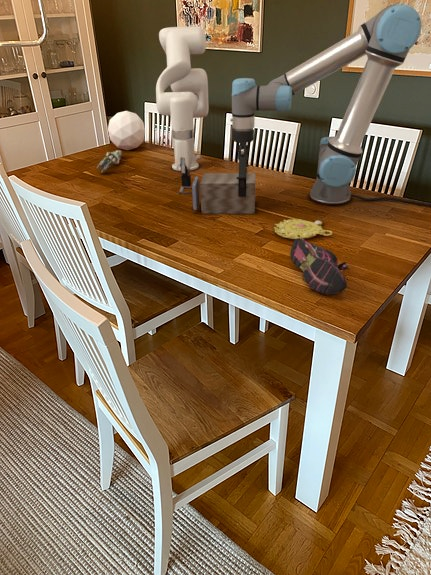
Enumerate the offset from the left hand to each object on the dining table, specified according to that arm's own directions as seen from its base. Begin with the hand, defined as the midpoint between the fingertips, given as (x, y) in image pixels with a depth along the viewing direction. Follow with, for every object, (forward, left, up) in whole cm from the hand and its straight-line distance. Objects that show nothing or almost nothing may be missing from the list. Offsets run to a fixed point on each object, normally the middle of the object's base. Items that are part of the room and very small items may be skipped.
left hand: (186, 185), depth 162 cm
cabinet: (-8, +13, -9) cm, 18 cm away
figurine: (-21, -65, -9) cm, 69 cm away
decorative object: (-4, +46, -9) cm, 47 cm away
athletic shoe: (+19, +63, -9) cm, 67 cm away
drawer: (-5, +8, -8) cm, 12 cm away
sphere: (-47, -80, -9) cm, 93 cm away
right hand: (-11, +17, -2) cm, 21 cm away
